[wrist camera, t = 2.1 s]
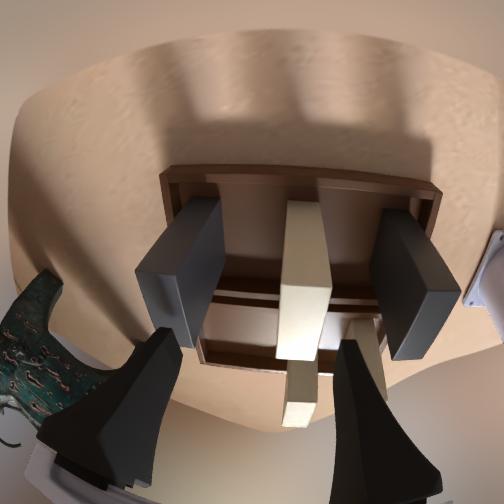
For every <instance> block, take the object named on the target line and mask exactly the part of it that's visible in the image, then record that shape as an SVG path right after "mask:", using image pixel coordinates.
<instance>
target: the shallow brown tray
mask: <svg viewBox="0 0 504 504" xmlns="http://www.w3.org/2000/svg"><path fill="white" fill-rule="evenodd" d="M278 315H279V301H278V300H265V299H253V298H241V297H230V296H220V295H213V297H212V300H211V303H210V306H209V308H208V311H207V314H206V317H205V319H204V322H203V325H202V328H201V331H200V333H199V336H198V339H197V342H196V345H195V347H196V350H197V354H198V357H199V361H200V364H205V365H211V366H218V367H225V368H232V369H240V370H249V371H258V372H269V373H281V374H287V362H288V359H276V357H275V355H276V342H277V329H278ZM352 318H373V319H374V324H375V328H376V333H377V338H378V343H379V348H380V354H382V352H383V350H384V349H385V347H386V345H387V343H388V341H387V337H386V332H385V328H384V324H383V320H382V316H381V312H380V308H379V305H349V304H329V305H328V310H327V314H326V318H325V322H324V327H323V331H322V335H321V339H320V342H319V346H318V375H319V376H333V366H334V362H335V359H336V355H337V352H338V348H339V345H340V341H341V339H345V336H346V334H347V331H348V328H349V325H350V322H351V319H352Z"/></svg>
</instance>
